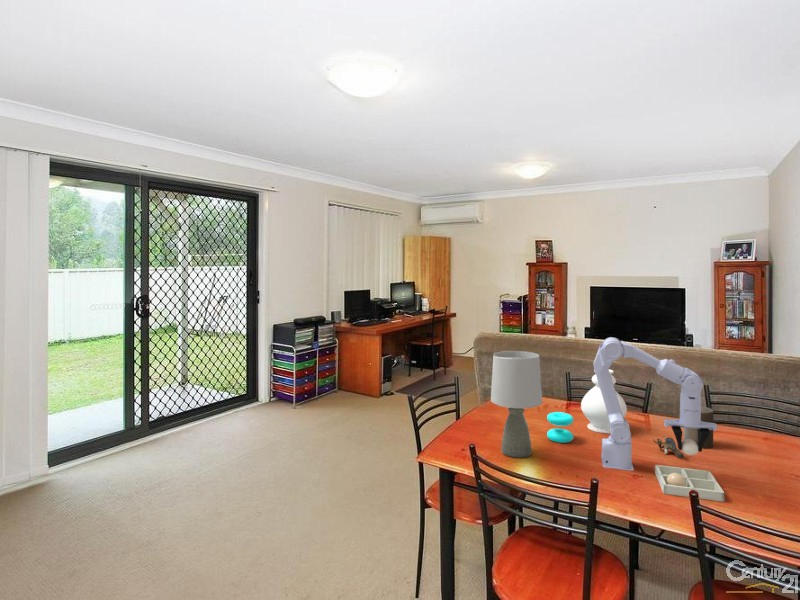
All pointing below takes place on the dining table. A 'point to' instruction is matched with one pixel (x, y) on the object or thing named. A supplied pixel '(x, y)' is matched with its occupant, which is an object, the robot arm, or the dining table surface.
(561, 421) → the donuts
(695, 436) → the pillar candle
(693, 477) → the egg tray
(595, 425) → the decorative vase
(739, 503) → the dining table surface
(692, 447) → the cream egg
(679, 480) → the brown egg
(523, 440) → the lamp
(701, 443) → the robot arm
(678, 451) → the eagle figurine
